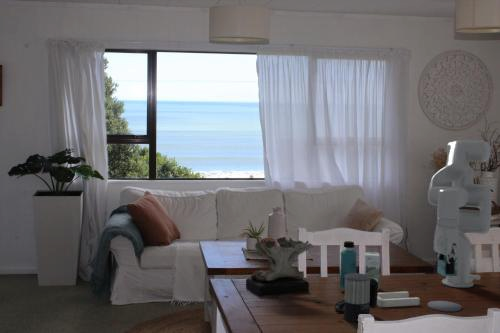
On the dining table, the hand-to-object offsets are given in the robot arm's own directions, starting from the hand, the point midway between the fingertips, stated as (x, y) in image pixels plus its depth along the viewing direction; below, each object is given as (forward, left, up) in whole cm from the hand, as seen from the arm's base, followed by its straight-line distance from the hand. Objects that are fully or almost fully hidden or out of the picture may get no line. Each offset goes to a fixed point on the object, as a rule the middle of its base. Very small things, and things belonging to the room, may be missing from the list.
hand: (445, 271), depth 238 cm
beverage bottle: (+27, -27, -13) cm, 40 cm away
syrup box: (+16, -29, -13) cm, 36 cm away
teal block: (-1, 0, -1) cm, 1 cm away
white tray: (+15, -9, -13) cm, 22 cm away
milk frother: (+38, +3, -13) cm, 40 cm away
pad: (0, 0, -13) cm, 13 cm away
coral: (+52, -32, -13) cm, 62 cm away
